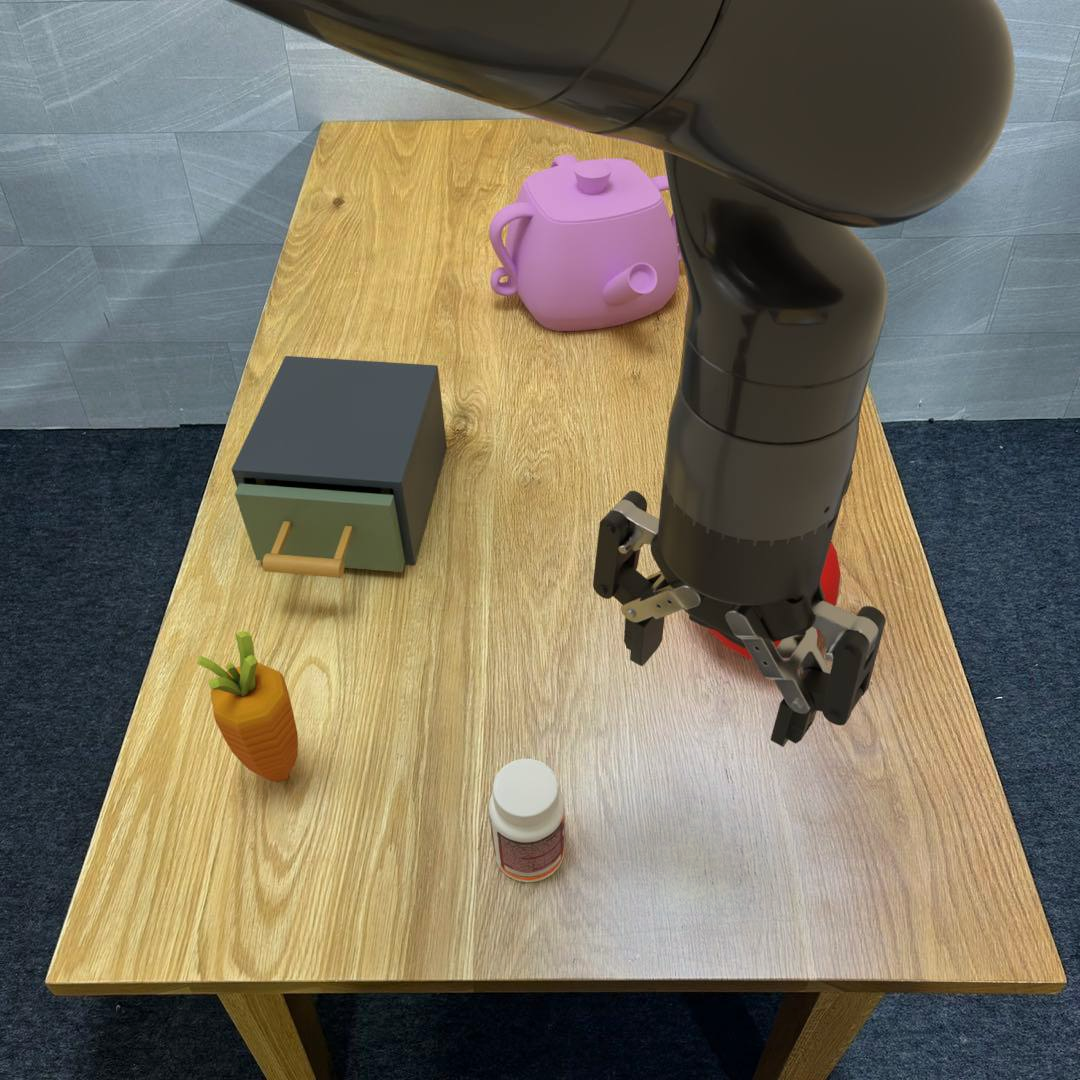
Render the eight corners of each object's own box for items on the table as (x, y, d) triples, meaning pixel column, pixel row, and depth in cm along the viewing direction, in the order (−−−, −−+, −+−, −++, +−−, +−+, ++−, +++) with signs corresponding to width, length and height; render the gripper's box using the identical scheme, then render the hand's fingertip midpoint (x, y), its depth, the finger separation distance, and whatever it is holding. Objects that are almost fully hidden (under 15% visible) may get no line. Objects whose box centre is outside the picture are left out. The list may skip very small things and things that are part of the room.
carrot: (269, 824, 70) (214, 699, 59) (232, 775, 73) (173, 648, 62) (330, 780, 73) (288, 653, 62) (292, 735, 75) (246, 605, 64)
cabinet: (415, 565, 86) (401, 482, 79) (257, 552, 88) (230, 469, 81) (447, 448, 96) (437, 365, 89) (305, 437, 97) (285, 355, 90)
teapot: (562, 227, 122) (561, 107, 112) (723, 277, 114) (739, 153, 104) (470, 308, 111) (460, 184, 101) (641, 370, 104) (650, 242, 93)
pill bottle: (579, 858, 68) (580, 795, 62) (519, 898, 67) (514, 837, 60) (538, 804, 71) (536, 739, 65) (480, 841, 69) (471, 777, 63)
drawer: (389, 619, 81) (375, 553, 76) (237, 606, 82) (212, 539, 77) (434, 460, 94) (425, 393, 88) (301, 451, 95) (284, 384, 89)
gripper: (563, 453, 44) (564, 674, 56) (876, 604, 38) (802, 815, 50) (657, 364, 48) (639, 588, 60) (953, 488, 42) (868, 710, 54)
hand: (713, 691), depth 55 cm, fingers open, 8 cm apart
